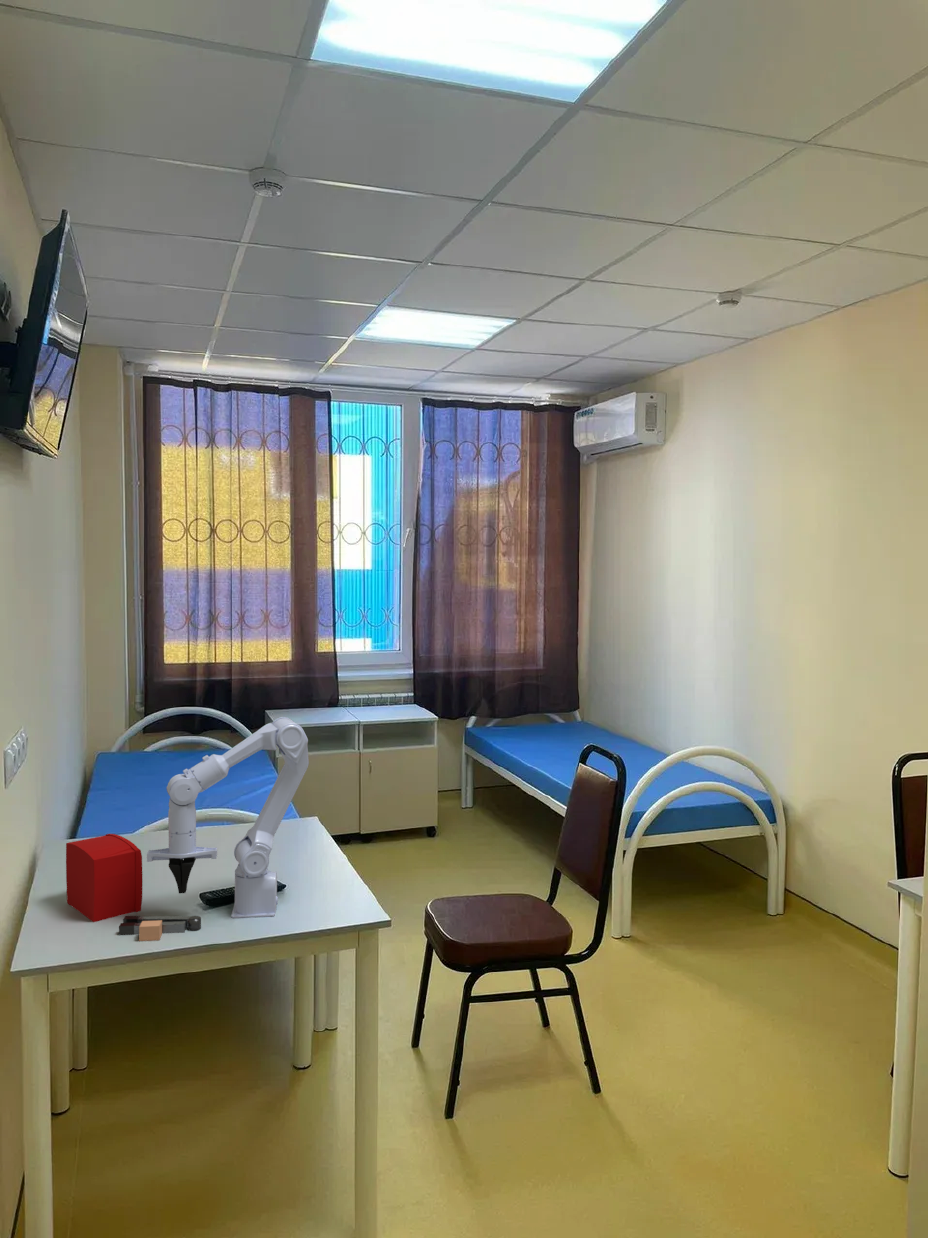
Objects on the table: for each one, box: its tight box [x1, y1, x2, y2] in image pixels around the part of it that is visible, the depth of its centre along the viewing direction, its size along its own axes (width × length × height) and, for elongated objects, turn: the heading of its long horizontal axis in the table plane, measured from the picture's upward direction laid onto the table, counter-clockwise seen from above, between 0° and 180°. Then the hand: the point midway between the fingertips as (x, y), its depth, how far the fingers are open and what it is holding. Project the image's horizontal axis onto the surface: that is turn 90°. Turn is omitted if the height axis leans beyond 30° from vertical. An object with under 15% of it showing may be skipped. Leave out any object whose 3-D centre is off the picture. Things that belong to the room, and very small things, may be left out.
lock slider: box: [138, 920, 163, 942], centre depth 184 cm, size 4×3×3 cm
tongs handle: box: [118, 921, 187, 936], centre depth 187 cm, size 13×2×2 cm, turn 99°
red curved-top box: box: [65, 833, 143, 923], centre depth 201 cm, size 16×11×15 cm
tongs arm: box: [122, 915, 202, 932], centre depth 189 cm, size 16×3×2 cm, turn 93°
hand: (182, 891), depth 194 cm, fingers closed
